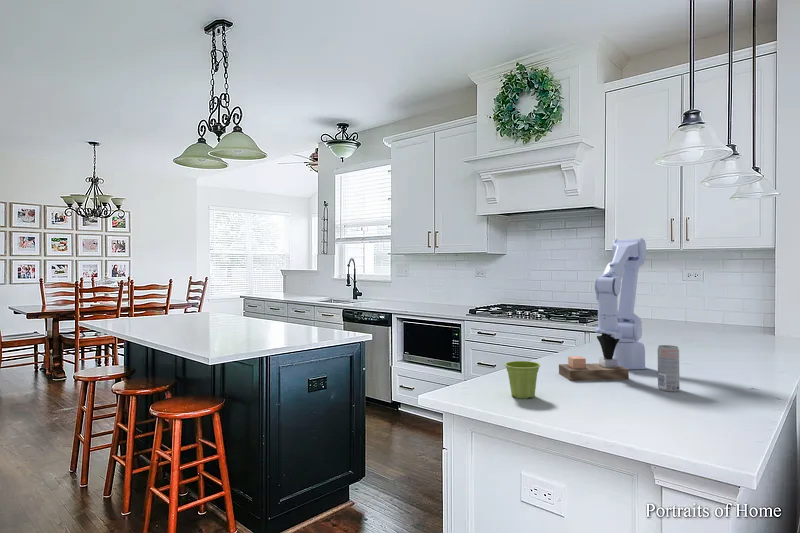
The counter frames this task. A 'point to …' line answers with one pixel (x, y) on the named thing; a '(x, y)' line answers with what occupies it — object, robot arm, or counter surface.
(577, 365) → the terracotta button
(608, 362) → the white marbled block
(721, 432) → the counter surface
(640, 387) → the counter surface
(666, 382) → the energy drink
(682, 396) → the counter surface
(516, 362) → the plant pot
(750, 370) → the counter surface
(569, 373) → the button panel
